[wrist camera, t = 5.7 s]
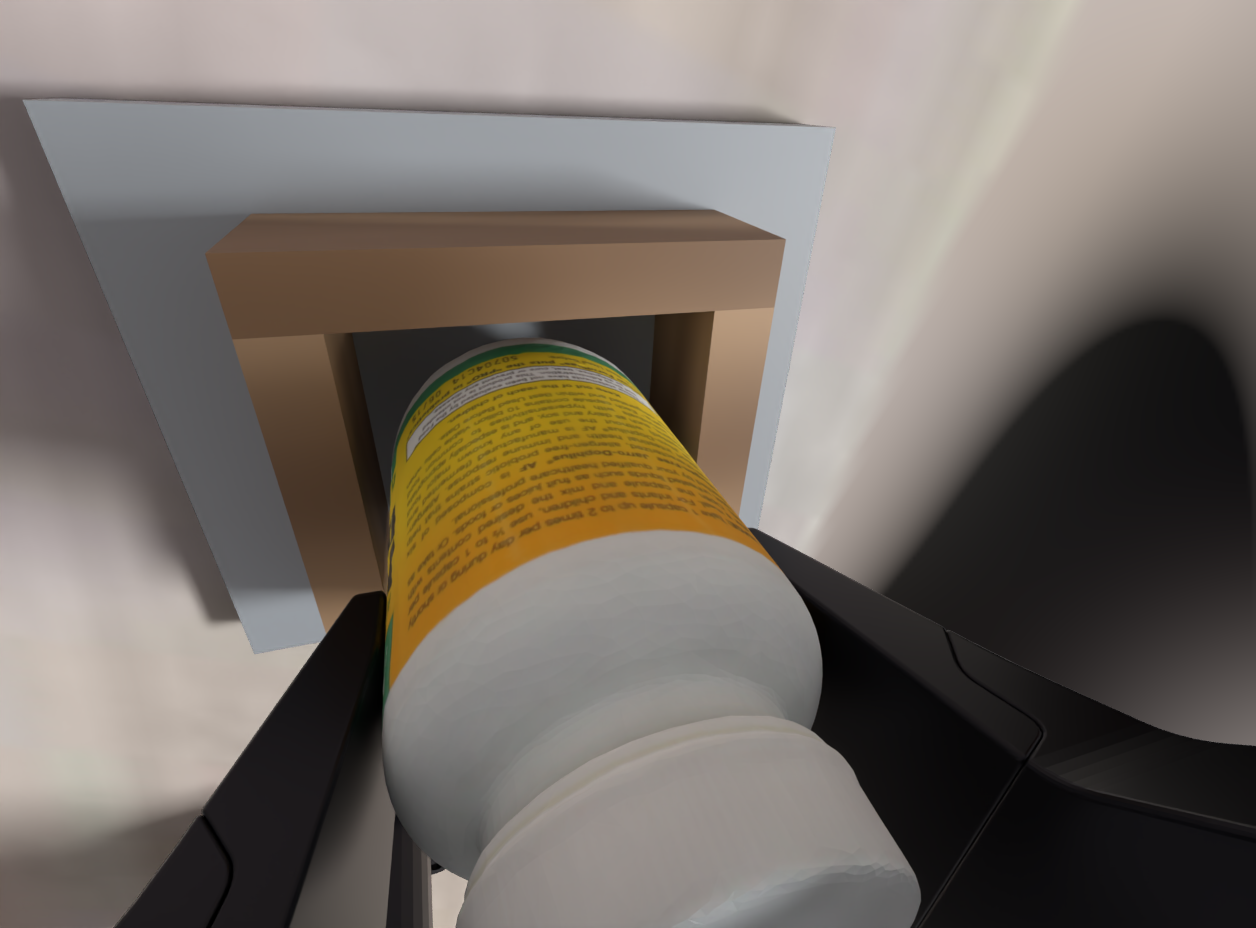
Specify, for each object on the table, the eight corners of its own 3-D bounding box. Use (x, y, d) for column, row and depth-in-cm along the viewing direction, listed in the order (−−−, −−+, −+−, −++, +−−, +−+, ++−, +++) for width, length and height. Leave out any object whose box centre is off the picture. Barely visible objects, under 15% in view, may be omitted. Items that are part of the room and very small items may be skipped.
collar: (679, 534, 17) (723, 606, 15) (352, 588, 15) (342, 685, 13) (714, 209, 13) (785, 238, 10) (250, 213, 10) (205, 252, 8)
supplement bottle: (675, 484, 14) (991, 944, 7) (472, 587, 14) (560, 1192, 6) (592, 279, 11) (1013, 703, 4) (329, 405, 11) (162, 1170, 3)
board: (735, 538, 20) (751, 561, 19) (263, 619, 16) (254, 654, 15) (805, 123, 14) (835, 127, 13) (60, 98, 10) (22, 100, 9)
